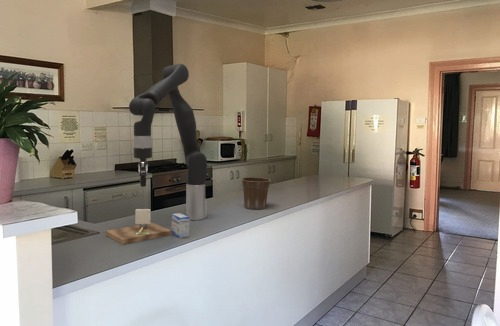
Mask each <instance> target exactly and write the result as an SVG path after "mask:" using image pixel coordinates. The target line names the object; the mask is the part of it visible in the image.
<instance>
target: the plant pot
mask: <svg viewBox="0 0 500 326" xmlns="http://www.w3.org/2000/svg"><path fill="white" fill-rule="evenodd" d="M241 181H242V187H243V188H242V189H243V207H244V208H245V209H248V210H257V209H258V210H264V209H266V208H267V200H268V199H267V198H268V192H269V188H270V182H271V181H272V180H271V179H270V178H266V177H258V176H257V177H252V176H251V177H243V178H241Z"/></svg>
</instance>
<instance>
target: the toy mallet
mask: <svg viewBox="0 0 500 326" xmlns="http://www.w3.org/2000/svg"><path fill="white" fill-rule="evenodd" d="M134 214H135V220H134V222H135V225H139V228H140V231H139V232H138V234H140V233H141V232H142V230H143V229H146V228H147V224H150V223H152V221H151V209H150V208H136V209H135V213H134Z"/></svg>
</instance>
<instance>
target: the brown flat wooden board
mask: <svg viewBox="0 0 500 326" xmlns="http://www.w3.org/2000/svg"><path fill="white" fill-rule="evenodd" d="M139 231H140V228H139V224H136V225H133V226H127V227H121V228H113V229H108V230H105V236H106V237H108V238H109V239H111V240H113V241H115V242H117V243H119V244H121V245H122V246H123V245H128V244H133V243H134V244H135V243H138V242H144V241H149V240H154V239H159V238H163V237H169V236H172V235H173V234H172V229H169V228H167V227H164V226H162V225H160V224H156V223H154V222H151V223H150V224H147V228H146V229H143V230H142V232H141V233H140V234H138V232H139Z"/></svg>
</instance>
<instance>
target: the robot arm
mask: <svg viewBox="0 0 500 326" xmlns="http://www.w3.org/2000/svg"><path fill="white" fill-rule="evenodd" d="M189 74H190V72H189V69H188V67H187V66H186V65H185V64H183V63H176V64H172V65H169V66H165V67H164V68H163V69H162V80H160V81H158V82H156V83H154V84H153V85H152V86H151V87H150V88H148V89H147V90H146V91H145V92H144V93H141V94H139V95H137V96H135V97H134V98H132V100H131V101H130V102H129V104H128V105H129V106H128V109H129V112H130V114H132V115H133V116H139V117H140V116H142V117H141V120H137V121H136V122H134V123H133V144H132V145H133V158H134V159H139V161H138V162H137V166H138V173H139V177H140V180H139V181H140V187H141V188H142V187H143V188H145V187H146V186H147V176H148V175H147V173H148V167H149V162H148V160H147V159H152V157H153V141H152V140H153V139H152V124H153V120H154V116H155V112H156V105H158V104H159V103H160V102H161V101H163V99H165V97H167V95H168V97H169V99H170V104H171V107H172V111H173V114H174V119H175V123H176V127H177V131H178V133H179V136H180V140H181V142H182V148H183V152H184V153H183V155H184V161H185V165H186V166H187V177H186V180H185V181H186V185H185V186H186V189H185V191H186V193H185V194H186V195H185V197H186V198H185V201H186V202H185V205H186V206H185V210H186V211H185V212H186V213H185V215H186V216H188V217H189V221H199V220H204V219H206V218H207V216H208V215H207V212H208V211H207V209H208V208H207V207H208V206H207V205H208V202H207V198H206V180H207V173H208V168H207V167H208V161H207V157H206V155H205V154H204V153H202V152H201V151H200V150H201V149H200V147H199V143H198V140H197V139H198V138H197V121H196V117H195V114H194V109H193V108H192V107H191V105H190V104H189V103H188V101H186V100H185V98H183V96H182V94H181V92H180V90H179V86H181V85H182V84H183V85H184V83H186V82H187V81H188V79H189V76H190V75H189Z"/></svg>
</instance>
